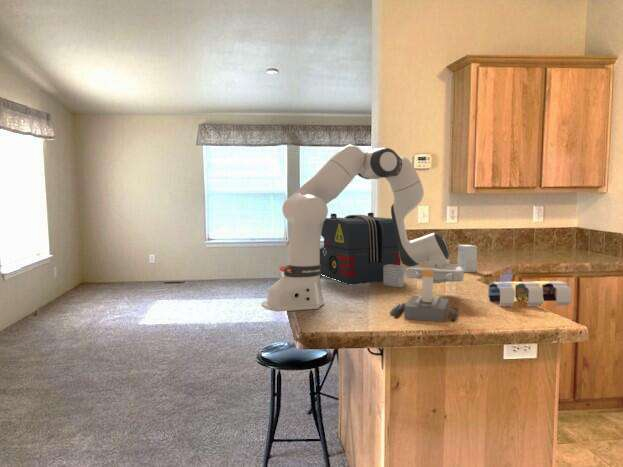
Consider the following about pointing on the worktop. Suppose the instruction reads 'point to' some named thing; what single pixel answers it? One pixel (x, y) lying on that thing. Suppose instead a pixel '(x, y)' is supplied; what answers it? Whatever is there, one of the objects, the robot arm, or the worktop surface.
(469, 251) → the small box
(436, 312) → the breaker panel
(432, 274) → the lever
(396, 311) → the cords
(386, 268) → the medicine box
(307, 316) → the worktop surface
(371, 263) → the power unit
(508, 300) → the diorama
